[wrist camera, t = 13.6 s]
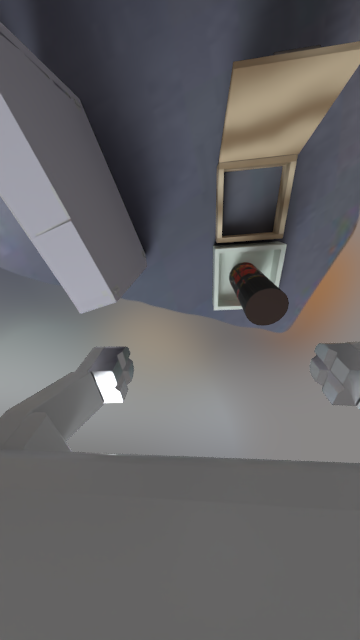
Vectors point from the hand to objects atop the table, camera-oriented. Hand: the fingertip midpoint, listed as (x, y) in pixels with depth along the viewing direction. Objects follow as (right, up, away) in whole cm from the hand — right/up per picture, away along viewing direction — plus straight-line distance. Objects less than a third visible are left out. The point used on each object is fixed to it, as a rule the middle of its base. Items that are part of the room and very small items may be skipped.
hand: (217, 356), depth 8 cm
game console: (-15, +25, +27) cm, 39 cm away
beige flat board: (+9, +26, +14) cm, 31 cm away
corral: (+11, +23, +26) cm, 36 cm away
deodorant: (+12, +11, +32) cm, 35 cm away
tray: (+12, +11, +32) cm, 36 cm away
